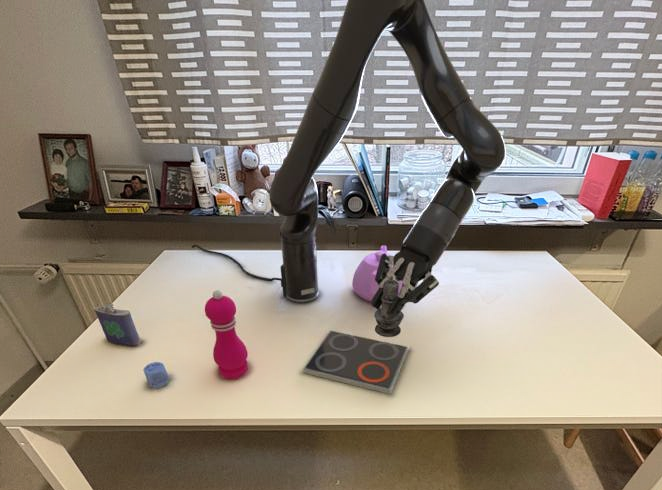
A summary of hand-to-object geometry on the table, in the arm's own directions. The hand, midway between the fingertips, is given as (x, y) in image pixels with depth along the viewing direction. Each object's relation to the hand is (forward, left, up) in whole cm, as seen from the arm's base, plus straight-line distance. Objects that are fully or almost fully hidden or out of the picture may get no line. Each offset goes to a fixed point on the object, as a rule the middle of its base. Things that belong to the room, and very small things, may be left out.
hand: (382, 311), depth 79 cm
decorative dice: (-44, -17, -18) cm, 51 cm away
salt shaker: (+1, +2, -5) cm, 6 cm away
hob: (-6, +4, -17) cm, 19 cm away
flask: (-62, -8, -18) cm, 65 cm away
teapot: (-11, +38, -18) cm, 43 cm away
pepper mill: (-31, -8, -18) cm, 37 cm away
